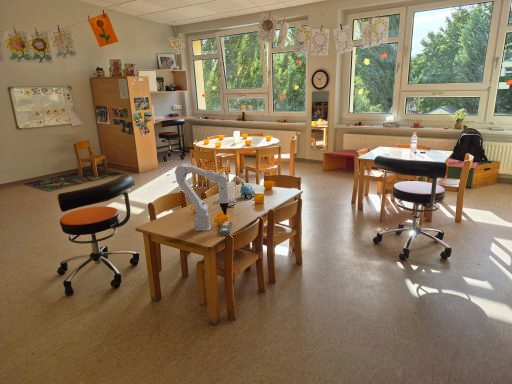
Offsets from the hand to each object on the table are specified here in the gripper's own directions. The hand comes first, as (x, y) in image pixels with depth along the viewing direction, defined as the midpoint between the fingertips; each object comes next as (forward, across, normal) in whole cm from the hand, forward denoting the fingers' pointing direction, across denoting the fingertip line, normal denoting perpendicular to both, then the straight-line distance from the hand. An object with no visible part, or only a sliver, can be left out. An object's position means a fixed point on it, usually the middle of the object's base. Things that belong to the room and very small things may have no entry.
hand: (225, 214), depth 218 cm
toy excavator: (+10, -6, -63) cm, 64 cm away
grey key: (+8, 0, +3) cm, 8 cm away
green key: (+9, 0, +9) cm, 12 cm away
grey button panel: (+9, 0, +3) cm, 10 cm away
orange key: (+9, 0, -2) cm, 9 cm away
